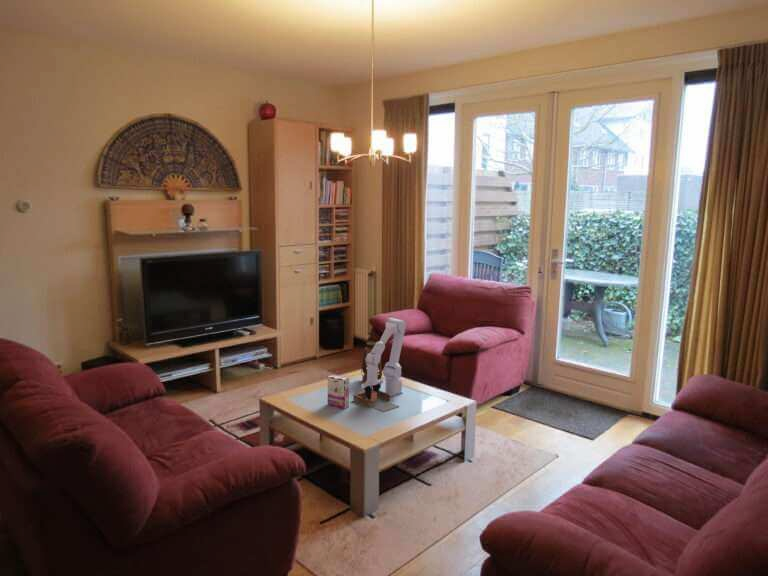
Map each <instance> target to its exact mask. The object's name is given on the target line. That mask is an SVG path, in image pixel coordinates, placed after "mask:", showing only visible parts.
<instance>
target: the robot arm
mask: <svg viewBox="0 0 768 576" xmlns="http://www.w3.org/2000/svg"><path fill="white" fill-rule="evenodd" d="M406 326H407V324H406V322H405V321H404V320H402V319H398V318H394V317H388V318H387V320H386V323H385V329H384V331H383V334H382V335H381V337H380V340H379V341H376V344H375V346H374V348H373V349H372V351H371V353H369V354H366V358H365V361H366V363H367V364H366V365H367V366H368V367H367V368H366V369H367V382H365V383H364V384H362V383H361V385H360V389H363V390H364V392H366V395H367V398H366V400H367V399H370V398H371V391H372V389H373V390H374V391H376V392H377V394H378V391H379V390H380V389H381V387H382V384H384V380H383V379H382V378H381V379H378V380H377V377H378V375H379V374H378V372H379V370H378V369H379V368H378V364H379V362H380V358H381V359H382V354H383V352H384V351H385V348H386V344H387V342H388V340H389V339H390V337H391V336H392V334H393V340H392V341H393V342H392V344H391V345H392V347H391V350H390V356H389V361H386V362H385V364H384V368H382V376H384V378H385V388H384V391H383V390H381V391H382V392H384V393H387V394H389V395H390V397H392V396H397V395H400V394H402V393H403V390H402V389H403V381H402V378H401V376H402V366H401V365H400V363H399V361H400V357H401V356H400V355H401V352H402V347H403V341H404V336H405V334H406V333H405V331H406V328H407V327H406ZM380 383H382V384H380Z"/></svg>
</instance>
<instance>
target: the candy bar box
mask: <svg viewBox="0 0 768 576" xmlns="http://www.w3.org/2000/svg"><path fill="white" fill-rule="evenodd" d="M327 405H328V406H330V407H335V408H339V409H344V410H345V409H347V408H348V407H349V406H350V377H347V376H342V375H337V374H330V375H328V376H327Z"/></svg>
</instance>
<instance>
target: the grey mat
mask: <svg viewBox="0 0 768 576" xmlns="http://www.w3.org/2000/svg"><path fill="white" fill-rule="evenodd" d="M399 407H400V405H397V404H396V403H393V402H391V401H386V402H384V403H382V404H378V405H374V406H373V407H372V408H373V409H375V410H376V411H380V412H382V413H385V412H388V411H391V410H395V409H398V408H399Z"/></svg>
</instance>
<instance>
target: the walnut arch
mask: <svg viewBox="0 0 768 576" xmlns="http://www.w3.org/2000/svg"><path fill="white" fill-rule="evenodd" d="M372 390H373V388H372ZM382 391H383V390H380V389H379V391H378V394H377V398H380V399H382V398H383V400H385V401H386V402H391V396H390V395H389V394H387V393H384V392H382ZM352 396H353V398H352V399H353V402H356V403H357V404H360V405H362V406H364V407H365V408H368V409H369V408H370V407H371V402H370V401H368V400H367V395H366V392H365V391H360V392H359V393H355V394H353V395H352Z"/></svg>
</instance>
